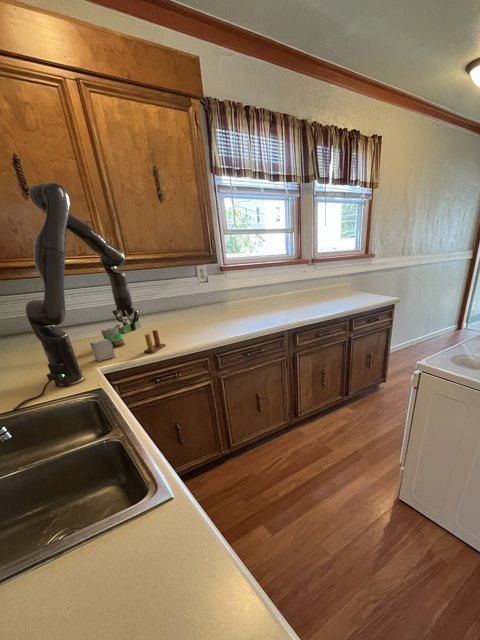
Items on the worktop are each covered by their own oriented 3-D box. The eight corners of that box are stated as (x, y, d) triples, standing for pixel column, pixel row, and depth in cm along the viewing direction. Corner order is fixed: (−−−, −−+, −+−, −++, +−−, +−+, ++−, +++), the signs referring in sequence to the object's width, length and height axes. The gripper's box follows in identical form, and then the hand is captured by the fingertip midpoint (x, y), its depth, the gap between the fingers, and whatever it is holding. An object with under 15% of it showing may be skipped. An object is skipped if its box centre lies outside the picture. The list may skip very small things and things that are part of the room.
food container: (116, 349, 172) (110, 331, 167) (105, 349, 173) (100, 330, 168) (131, 342, 182) (126, 324, 178) (121, 341, 183) (116, 324, 179)
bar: (141, 327, 171) (140, 321, 170) (124, 334, 159) (123, 328, 157) (136, 327, 172) (134, 321, 170) (119, 334, 159) (117, 328, 158)
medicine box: (111, 355, 164) (106, 338, 160) (115, 357, 161) (110, 340, 157) (95, 359, 159) (89, 342, 155) (99, 361, 156) (93, 344, 152)
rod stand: (165, 345, 177) (161, 329, 172) (153, 353, 166) (149, 336, 162) (156, 345, 177) (153, 329, 173) (144, 352, 167) (140, 335, 163)
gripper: (103, 296, 155) (113, 332, 163) (130, 296, 153) (139, 332, 161) (113, 293, 161) (122, 328, 169) (139, 294, 160) (147, 328, 167)
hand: (130, 330), depth 165 cm, fingers closed on bar, 3 cm apart
